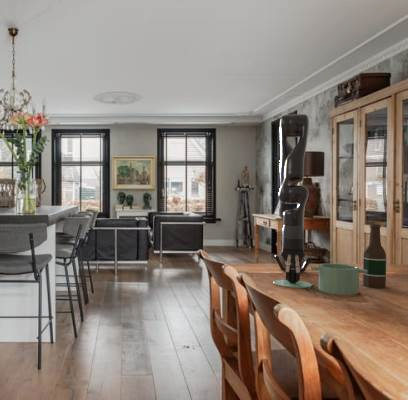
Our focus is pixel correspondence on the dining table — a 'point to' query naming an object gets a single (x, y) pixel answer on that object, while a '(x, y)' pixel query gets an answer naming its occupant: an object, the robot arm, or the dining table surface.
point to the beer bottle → (374, 260)
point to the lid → (292, 281)
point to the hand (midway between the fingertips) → (292, 281)
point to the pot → (339, 278)
